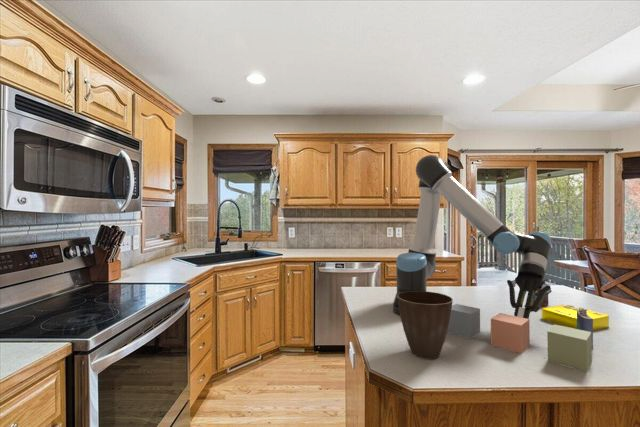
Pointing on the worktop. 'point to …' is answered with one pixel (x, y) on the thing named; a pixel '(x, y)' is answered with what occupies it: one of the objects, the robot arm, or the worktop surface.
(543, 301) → the supplement bottle
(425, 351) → the plant pot
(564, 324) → the element tile
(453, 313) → the slate block
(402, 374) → the worktop surface
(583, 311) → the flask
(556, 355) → the olive block
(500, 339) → the terracotta block
